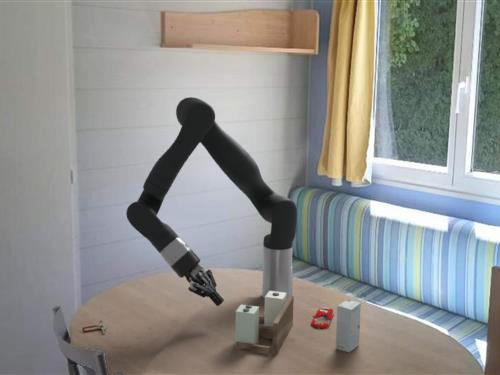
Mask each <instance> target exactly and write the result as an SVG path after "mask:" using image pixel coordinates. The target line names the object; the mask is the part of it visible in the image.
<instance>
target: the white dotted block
mask: <svg viewBox="0 0 500 375" xmlns="http://www.w3.org/2000/svg"><path fill="white" fill-rule="evenodd" d="M286 296H287V293H284V292H276V291H269V292H268V293H267V295H266V296H265V299H264V315H263V316H264V323H263V326H268V327H273V322H274V321H275V319H276V317H277V316H278V314H279V312H280V311H281V309H282V308H283V306H284V304H285V303H286Z"/></svg>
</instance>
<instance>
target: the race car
mask: <svg viewBox="0 0 500 375" xmlns="http://www.w3.org/2000/svg"><path fill="white" fill-rule="evenodd" d="M334 316H335V313H334V309H333V308H331V307H324V306H323V307H319V308H318V310H317V311H316V313H315V315H312V321H311V323H310V327H312V328H313V329H317V330H328V329H329V326H330V325H331V323H332V320H333V318H334Z"/></svg>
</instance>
